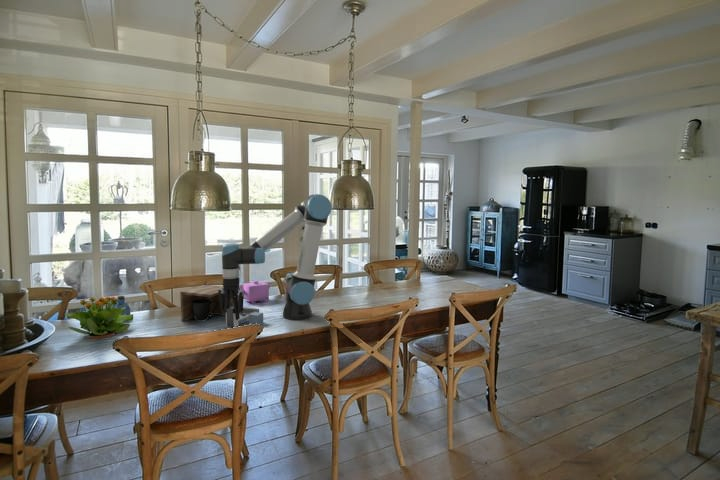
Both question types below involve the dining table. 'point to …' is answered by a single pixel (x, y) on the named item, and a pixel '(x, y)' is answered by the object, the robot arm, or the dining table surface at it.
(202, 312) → the mug
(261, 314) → the cube
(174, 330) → the dining table surface
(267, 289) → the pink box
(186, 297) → the shelf
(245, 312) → the dark grey angular block
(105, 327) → the potted flower
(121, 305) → the perfume bottle
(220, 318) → the dining table surface
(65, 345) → the dining table surface
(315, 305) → the dining table surface
